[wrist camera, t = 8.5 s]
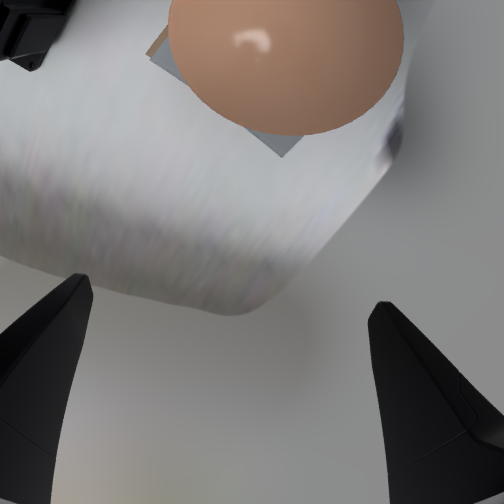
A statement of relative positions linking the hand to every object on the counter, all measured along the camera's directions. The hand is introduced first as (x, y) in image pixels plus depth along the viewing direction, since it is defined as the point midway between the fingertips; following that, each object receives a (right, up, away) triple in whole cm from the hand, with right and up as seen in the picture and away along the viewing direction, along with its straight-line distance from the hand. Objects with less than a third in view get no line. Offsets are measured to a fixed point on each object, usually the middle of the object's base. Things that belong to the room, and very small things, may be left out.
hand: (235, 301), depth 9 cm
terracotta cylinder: (+1, +9, 0) cm, 9 cm away
